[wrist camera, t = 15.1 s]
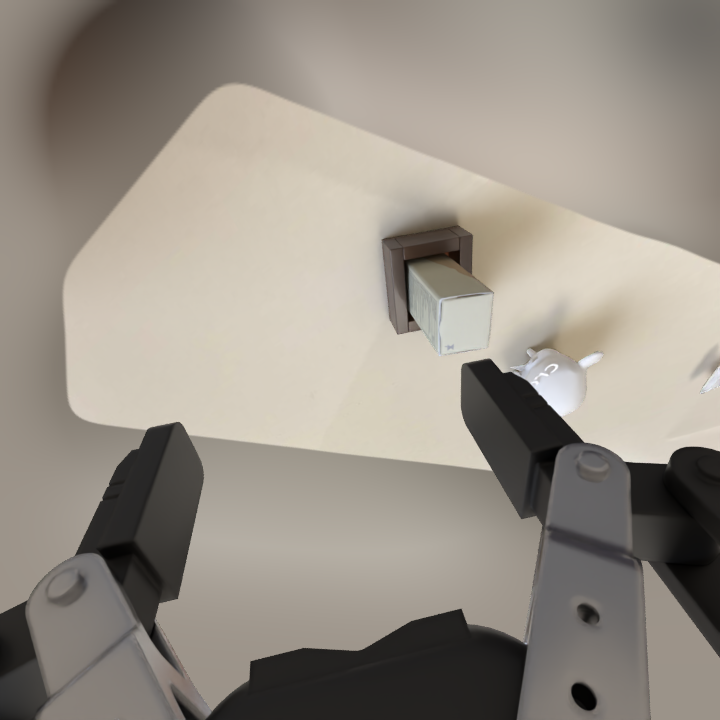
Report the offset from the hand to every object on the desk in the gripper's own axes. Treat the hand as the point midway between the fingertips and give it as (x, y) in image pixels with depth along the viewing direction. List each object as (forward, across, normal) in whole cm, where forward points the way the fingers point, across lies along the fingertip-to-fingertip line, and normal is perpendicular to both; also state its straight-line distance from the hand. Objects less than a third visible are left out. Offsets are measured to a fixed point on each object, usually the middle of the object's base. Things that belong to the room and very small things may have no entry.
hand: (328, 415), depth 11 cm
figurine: (+28, -24, +22) cm, 43 cm away
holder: (+28, -11, +8) cm, 31 cm away
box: (+28, -11, +8) cm, 31 cm away
